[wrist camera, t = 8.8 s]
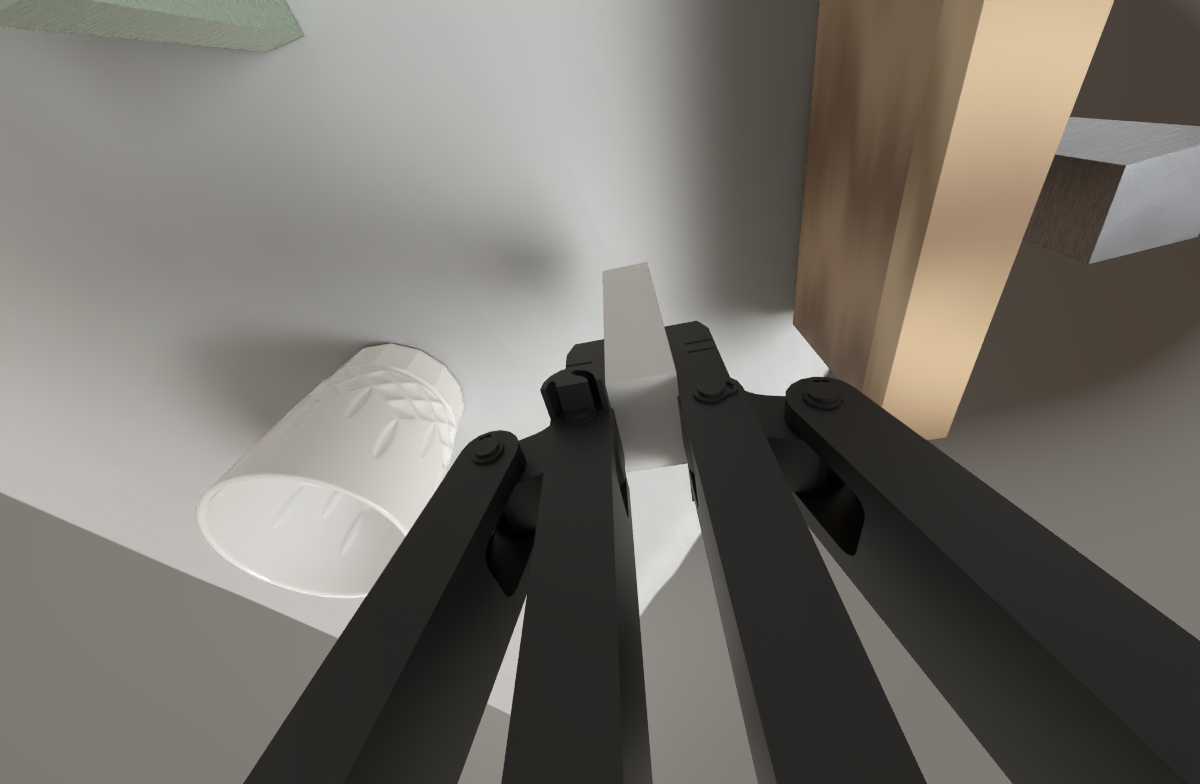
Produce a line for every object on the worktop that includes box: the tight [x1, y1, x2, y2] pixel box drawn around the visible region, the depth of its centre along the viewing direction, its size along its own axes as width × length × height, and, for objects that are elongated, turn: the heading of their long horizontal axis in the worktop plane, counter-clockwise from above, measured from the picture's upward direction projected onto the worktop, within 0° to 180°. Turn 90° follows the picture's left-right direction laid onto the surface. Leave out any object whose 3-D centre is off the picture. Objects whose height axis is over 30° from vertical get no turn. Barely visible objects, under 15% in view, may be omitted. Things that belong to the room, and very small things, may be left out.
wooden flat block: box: [793, 0, 1114, 440], centre depth 13 cm, size 16×2×8 cm, turn 11°
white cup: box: [196, 343, 464, 598], centre depth 21 cm, size 8×8×10 cm
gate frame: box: [0, 0, 1200, 264], centre depth 12 cm, size 25×15×10 cm, turn 107°
